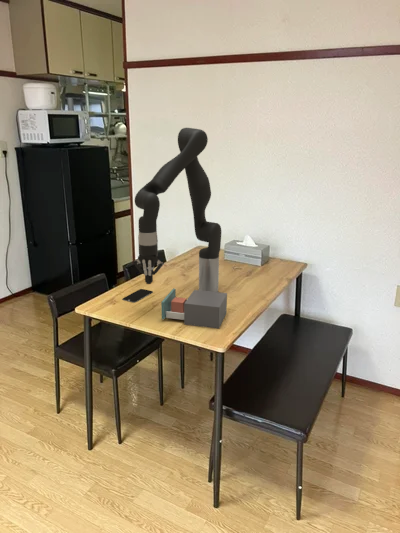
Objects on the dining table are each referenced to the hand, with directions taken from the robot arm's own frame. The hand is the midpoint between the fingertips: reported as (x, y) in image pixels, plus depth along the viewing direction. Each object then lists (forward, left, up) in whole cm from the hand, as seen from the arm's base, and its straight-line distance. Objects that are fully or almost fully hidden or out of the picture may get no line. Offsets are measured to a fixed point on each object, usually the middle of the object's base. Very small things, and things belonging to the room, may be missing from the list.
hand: (149, 283), depth 176 cm
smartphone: (-16, -12, -14) cm, 24 cm away
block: (-1, +13, -11) cm, 17 cm away
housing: (-1, +24, -13) cm, 27 cm away
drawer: (-1, +14, -12) cm, 18 cm away
